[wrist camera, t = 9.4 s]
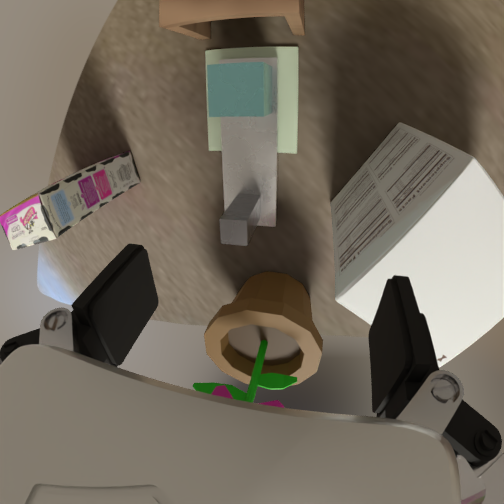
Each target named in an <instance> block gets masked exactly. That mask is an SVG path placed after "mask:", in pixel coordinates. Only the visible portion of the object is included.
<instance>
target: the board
mask: <svg viewBox="0 0 504 504" xmlns="http://www.w3.org/2000/svg"><path fill="white" fill-rule="evenodd" d="M205 55H206V93H207V119H208V141H209V151H222V143H221V117H209V110H208V80H207V65H212V64H219V60H223V59H239V58H278V152H279V153H296V154H297V135H298V47H244V48H228V49H216V50H207V51H205Z"/></svg>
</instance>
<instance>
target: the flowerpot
mask: <svg viewBox="0 0 504 504" xmlns="http://www.w3.org/2000/svg"><path fill="white" fill-rule="evenodd" d="M204 338H205V345H206V352H207V355H208V356H209V357H210V358H211V359H212V361H214V363H215V364H216V365H217V366H218V367H219V369H220V370H221V371H222V372H224V373H226V374H228V375H230V376H232V377H234V378H236V379H238V380H240V381H242V382H244V383H246V384H249V387H248V391H247V393H245V392H243V391H241V390H239V389H238V388H236V387H234V386H232V385H228V384H219V383H194V384H193V387H194V389H195V390H196V391H199V392H203V393H207V394H212V395H216V396H221V397H225V398H230V399H235V400H240V401H246V402H251V403H253V400H254V397H255V394H256V390H257V386H260V387H263V388H267V389H284V388H286V387H288V386H291V385H297V384H299V383H301V382H302V381H304V380H305V379H307V378H308V377H310V376H311V375H313V374H314V373H316V372H317V369H318V365H319V362H320V358H321V355H322V345H323V340H322V338H321V336H320V334H319V332H318V330H317V328H316V327H315V325H314V323H313V321H312V312H311V303H310V297H309V295H308V293H307V292H306V290H305V288H304V286H303V284H302V283H300V282H299V281H297V280H295V279H294V278H292V277H291V276H289V275H288V274H284V273H276V272H269V271H267V272H264V273H261V274H258V275H255V276H252V277H250V278H249V279H248V280H247V282H246V283H245V284H244V285H243V287H242V288H241V289H240V291H239V292H238V294H237V295H236V297H235V299H234V300H233V302H232V303H231V304H227V305H224V306H222V307H221V309H220V310H219V311H218V312H217V314H216V315H215V316H214V317H213V319H212V320H211V321H210V323H209V325H208V327H207V329H206V331H205V333H204ZM259 404H262V405H268V406H275V407H281V408H284V406H283V405H282V404H281V403H280V402H279V401H278V400H276V401H270V402H265V403H259Z"/></svg>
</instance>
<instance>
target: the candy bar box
mask: <svg viewBox="0 0 504 504" xmlns="http://www.w3.org/2000/svg"><path fill="white" fill-rule="evenodd" d="M139 183H140V179H139V176H138V173H137V170H136V167H135V164H134V160H133V157H132V154H131V152H130V151H127V152H125V153H122V154H119V155H116V156H113V157H111V158H108V159H105V160H103V161H100V162H98V163H96V164H93V165H91V166H89V167H86V168H84V169H82V170H80V171H78V172H75V173H73V174H71V175H69V176H67V177H65V178H63V179H61V180H59V181H57V182H55V183H53V184H51V185H49V186H47V187H46V188H44V189H42V190H40V191H38V192H37V193H35V194H33V195H31V196H30V197H28V198H26V199H25V200H23V201H21V202H20V203H18V204H17V205H15V206H13V207H12V208H10V209H9V210H7V211H6V212H4V213H3V214H1V215H0V223H1V225H2V227H3V230H4V232H5V235H6V237H7V239H8V241H9V243H10V245H11V247H12V250H16V249H20V248H24V247H27V246H31V245H34V244H39V243H42V242H46V241H50V240H53V239H56V238H58V237H59V236H60V235H61V234H63V233H64V232H65V231H67V230H68V229H70V228H71V227H73V226H74V225H75V224H77V223H78V222H79V221H81V220H82V219H84V218H85V217H87V216H88V215H90V214H91V213H93V212H94V211H96V210H97V209H99V208H100V207H102V206H103V205H105V204H106V203H108V202H110V201H111V200H113V199H114V198H116V197H117V196H119V195H121V194H122V193H124V192H125V191H127V190H129V189H130V188H132V187H134V186H135V185H137V184H139Z"/></svg>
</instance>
